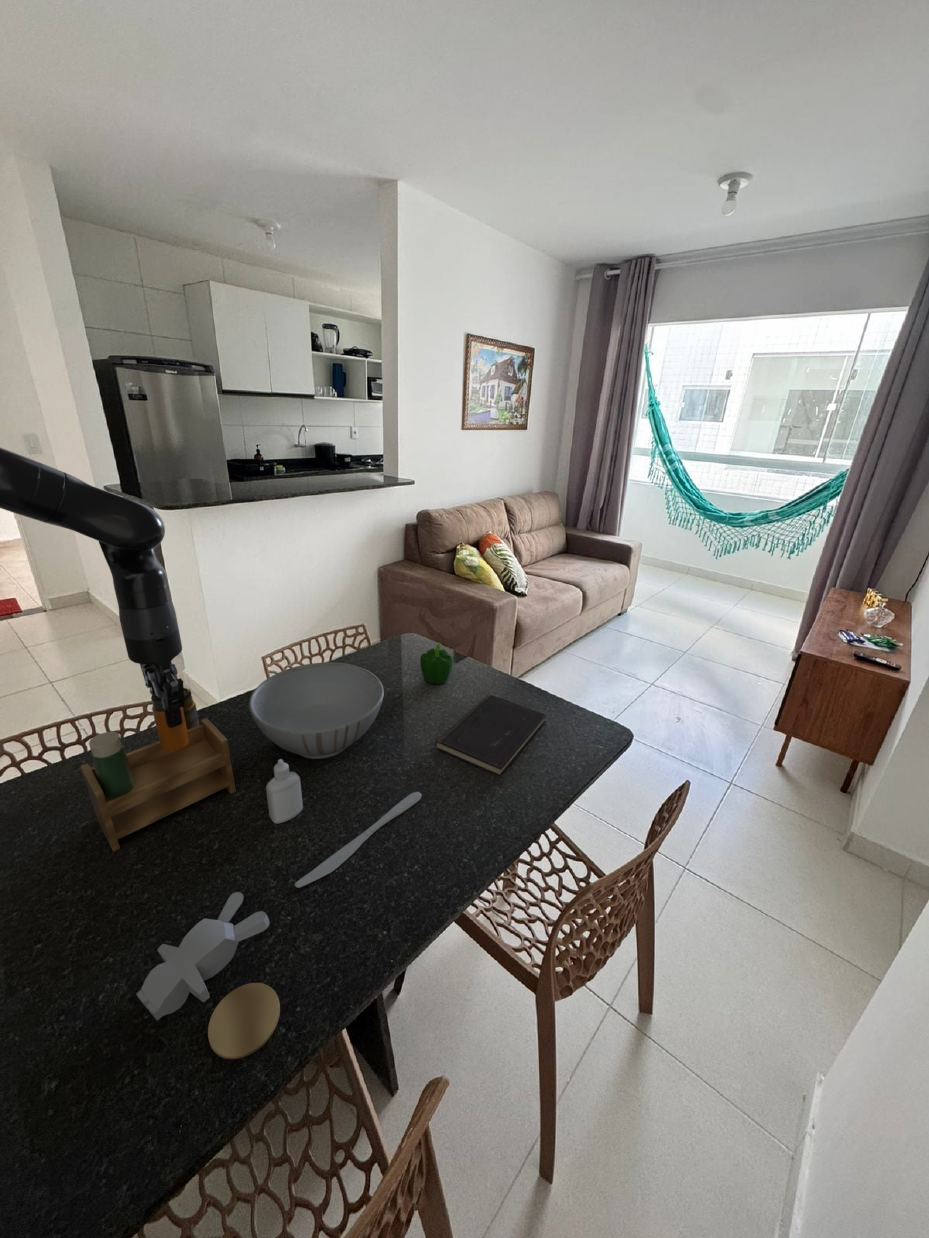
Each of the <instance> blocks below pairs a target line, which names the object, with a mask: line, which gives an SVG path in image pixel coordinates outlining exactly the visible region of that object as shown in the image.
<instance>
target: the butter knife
mask: <svg viewBox="0 0 929 1238" xmlns="http://www.w3.org/2000/svg"><path fill="white" fill-rule="evenodd" d="M421 798H422V793H421V792H420V791H415V792H411V793H410V794H408V795H407V796H406V797H404V798H403V799H402V800H400V801H399V802H397V804H395V805H394V806H393V807H392V808H391V809H390V810H388V811H387V813H385V814H384V815H383V816H382V817H381V818H379V819H378V820H377V821H376V822H374V823H373V824H372V825H371V826H370V827H368V828H367V829H365V830H364V831H363V832H362V833H361V834H359V835H358V836H356V837H355V838H354V839H352V840H351V841H349V842H348V843H347V844H345V845H344V846H343V847H341V848H340V849H339V850H337V851H336V852H335V853H333V854H331V856H329V857H328V858H327V859H325V860H324V861H322V863H320V864H319V865H317V866H316V867H315V868H313V869H312V870H311V871H310V872H308V873H307V874H305V875H304V876H302V877H301V878H300V879H299V880H296V882H295V883H294V886H295V887H296V888H298V889H300V888H303V887H304V886H308V885H309V884H311V883H313V882H315V881H317V880H320V879H321V878H324V877H325V876H327V875H329V874H331V873H332V872H334V871H335V870H336V869H338V868H339V867H340V866H341V865H342V864H343V863H345V861H347V860H348V859H349V858H350V857H351V856H352V855H353V854H354V853H355V852H356V851H357V850H359V848H360V847H361V846H362V845H363V844H364V843H365V842H366V840H368V839H369V838H370V837H371V836H373V834H374V833H375V832H376V831H378V830H379V829H381V828H382V827H383V826H384V825H385V824H387V823H388V822H390V821H391V820H393V819H394V818H396V817H399V816H400V815H401V814H402V813H404V812H406V811H407V810H409V808H411V807H412V806H414V805H415V804H417V802H419V801H420V800H421Z"/></svg>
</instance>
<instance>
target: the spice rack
mask: <svg viewBox="0 0 929 1238" xmlns="http://www.w3.org/2000/svg"><path fill="white" fill-rule="evenodd" d="M187 731H188V736H189V743H188V745H187V746H185V747H184V748H182V749H180V750H177V751H173V752H166V751H163V750H162V749H161V747H160V742H159V740H158V741H155V742H153V743H150V744H148V745H145V746H143V747H140V748H137V749H135V750H131V751H129V752H127V753H126V755H127V759H128V763H129V766H130V770H131V774H132V777H133V781H134V787H133V789H132V790H131V791H130V792H128V793H127V794H125V795H123V796H120V797H117V798H106V797H104V793H103V791H102V789H101V787H100V784H99V780H98V777H97V774H96V771H95V767H94V765H93V766H90V765H89V763H84V764H81V765H80V770H81V772H82V776H83V780H84V782H85V786H86V789H87V792H88V795H89V798H90V801H91V805H92V807H93V810H94V814H95V818H96V820H97V823H98V825H99V826H100V829H101V830H102V832H103V834H104V836H105V838H106V841H107V842H108V845H109V846H110V848H111V850H112V852H114V853H115V852H117V851H118V850H121V847H120V843H119V840H121V839H122V838H125V837H127V836H128V835H130V834H132V833H134V832H137V831H139V830H141V829H143V828H145V827H147V826H149V825H151V824H153V823H155V822H157V821H159V820H162V819H163V818H166V817H168V816H170V815H172V814H174V813H176V812H179V811H180V810H182V809H184V808H186V807H189V806H191V805H193V804H195V803H196V802H199V801H201V800H203V799H206V798H207V797H209V796H211V795H213V794H215V793H217V792H221V791H222V790H224V789H225V790H227V791H228V792H229V794H230V795H232V794H234V793H237V790H236V782H235V777H234V771H233V765H232V760H231V753H230V748H229V742H228V741H229V740H228V739H227V738H226V737H225V735H224V734H223V733H222V732H221V731H220V730H219V729H218V728H217V727H216V726H215V725H214V724H213V723H212V722H211V720H209V719H208V718H207V717H205V718H203V719H201V724H199V726H197V727H194V728H191V729H189V730H187Z"/></svg>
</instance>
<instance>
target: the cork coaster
mask: <svg viewBox="0 0 929 1238" xmlns="http://www.w3.org/2000/svg"><path fill="white" fill-rule="evenodd" d="M280 1014H281V1004H280V998H279V996H278V994H277V992H276V991H275V990H274V989H273V988H272V987H271V986H269V985H268V984H265V983H262V982H250V983H246V984H243V985H241V986H238V987H236V988H234V989H232V990H231V991H230V992H228V994H227V995H225V997H223V998H222V999H221V1000H220V1001H219V1003H218V1004H217V1006H216V1007H215V1008H214V1011H213V1012H212V1014H211V1016H210V1018H209V1022H208V1026H207V1038H208V1044H209V1045H210V1048H211V1049H212V1051H213V1052H214V1053H215V1054H216V1055H217V1056H218V1057H219V1058H222V1059H226V1060H240V1059H242V1058H246V1057H248V1056H251V1055H252V1054H254V1053H255V1052H257V1051H258V1050H259V1049H261V1048H262V1047H263V1046H264V1045H265V1044H266V1043H267V1042H268V1040H269V1039H270V1038H271V1037H272V1035H273V1033H274V1032H275V1030H276V1029H277V1026H278V1023H279V1019H280V1016H281V1015H280Z"/></svg>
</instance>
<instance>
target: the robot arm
mask: <svg viewBox="0 0 929 1238" xmlns="http://www.w3.org/2000/svg"><path fill="white" fill-rule="evenodd" d="M0 509H1V510H5V511H7V512H10V513H13V514H17V515H19V516H23V517H26V518H29V519H32V520H35V521H39V522H40V523H43V524H44V523H45V524H47V525H51V526H56V527H60V528H63V529H67V530H70V531H73V532H75V533H78V534H80V535H83V536H86V537H88V538H90V539H92V540H95V541H98V544H99V547H100V549H101V552H102V554H103V556H104V559H105V562H106V564H107V566H108V569H109V571H110V573H111V577H112V584H113V589H114V594H115V597H116V603H117V606H118V618H119V623H120V627H121V631H122V636H123V639H124V644H125V648H126V649H125V650H126V653H127V658H128V659H129V661H131V662H132V663H135V664H139V666H140V669H141V672H142V676H143V679H144V685H145V687H146V688H147V689H149V694H150V695H151V696H152V695H153V694H154V693H155V694H156V696H158V697H160V699H161V702H162V705H163V706H162V707H163V709H164V713H165V717H166V722H167V725H168V727H169V728H173V727H175V726H178V725H181V724H182V723H183V720H182V715H181V710H180V707H184V706H185V701H184V688H185V687H184V680H183V679H182V677H180V678H178V676H177V675H178V668H177V666H176V664H175V663H172V661H173V660H174V659H175V658H176V657H178V656H179V655H180V654H181V652H182V651H183V644H182V638H181V634H180V633H181V632H180V628H179V623H178V617H177V612H176V608H175V606H174V603H173V600H172V595H171V590H170V585H169V579H168V575H167V572H166V570H165V568H164V567H163V565H162V564H161V563H160V561H159V560H158V558H157V557H156V553H155V550H154V549H156V547H158V546H159V545H160V544H161V543H162V542H163V540H164V538H165V533H166V527H165V523H164V521H163V519H162V517H161V515H160V514H159V513H158V512H157V511H156V510H154V509H153V508H151V506H148V505H146V504H145V503H142V502H140V501H137V500H135V499H133V498H130V497H126V496H121V495H118V494H116V493H114V492H110V491H108V490H104V489H102V488H99V487H96V486H93V485H91V484H89V483H87V482H86V481H83V480H81V479H80V478H78V477H76V476H74V475H71V474H69V473H67V472H64V471H62V470H59V469H57V468H55V467H52V466H49V465H47V464H44V463H42V462H40V461H37V460H35V459H32V458H30V457H26V456H24V455H21V454H19V453H16V452H13V451H11V450H9V449H5V448H3V447H1V446H0ZM160 690H163V691H160Z"/></svg>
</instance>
